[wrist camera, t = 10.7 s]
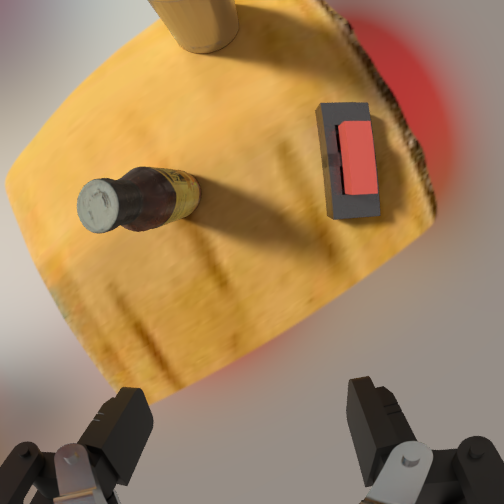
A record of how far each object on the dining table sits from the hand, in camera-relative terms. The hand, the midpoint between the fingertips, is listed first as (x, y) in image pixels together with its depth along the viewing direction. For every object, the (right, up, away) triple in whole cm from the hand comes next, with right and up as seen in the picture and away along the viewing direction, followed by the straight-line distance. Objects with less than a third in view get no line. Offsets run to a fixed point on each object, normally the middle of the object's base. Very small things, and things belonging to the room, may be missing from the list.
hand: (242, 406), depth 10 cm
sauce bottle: (-9, +13, +29) cm, 33 cm away
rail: (+12, +18, +26) cm, 34 cm away
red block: (+12, +17, +26) cm, 33 cm away
